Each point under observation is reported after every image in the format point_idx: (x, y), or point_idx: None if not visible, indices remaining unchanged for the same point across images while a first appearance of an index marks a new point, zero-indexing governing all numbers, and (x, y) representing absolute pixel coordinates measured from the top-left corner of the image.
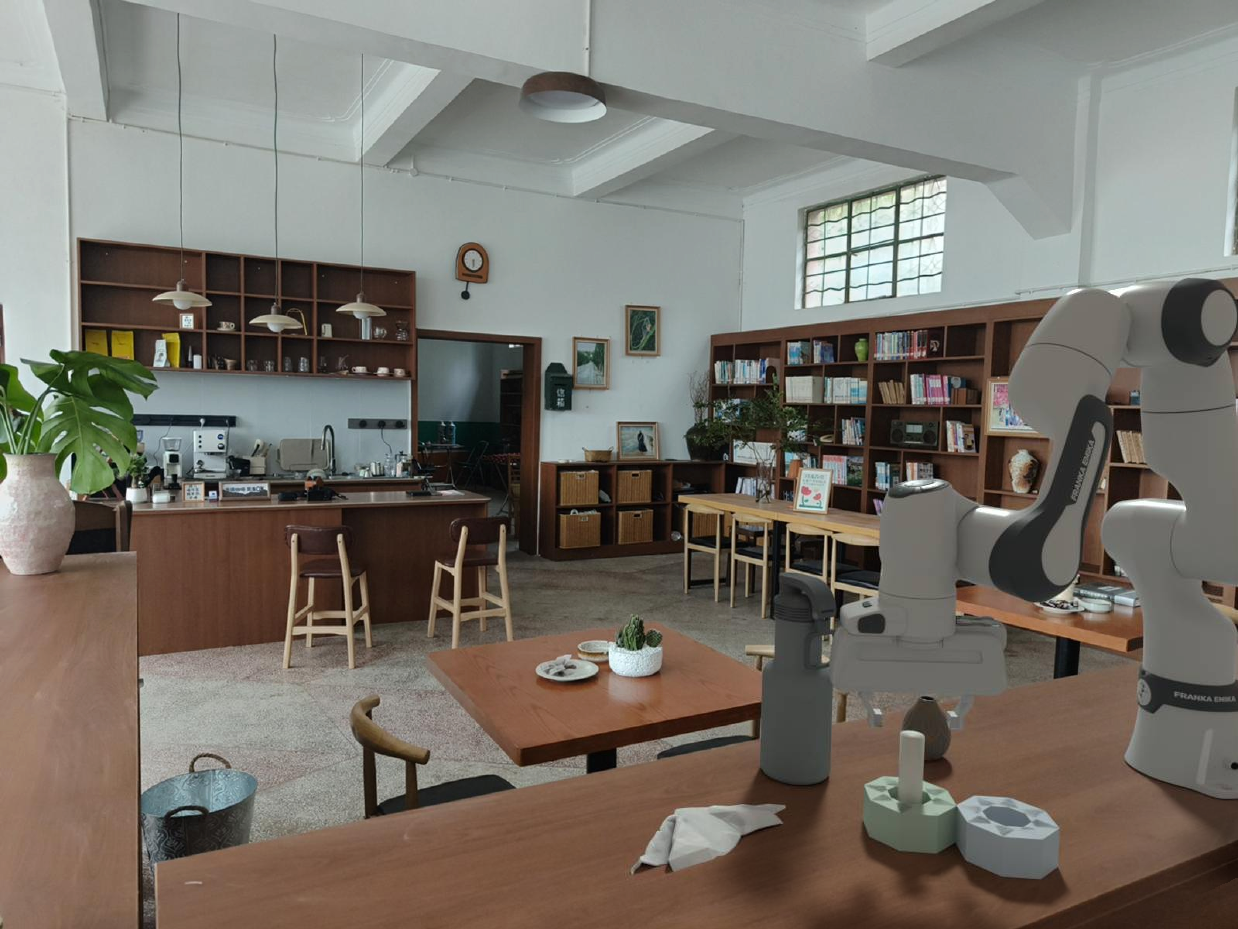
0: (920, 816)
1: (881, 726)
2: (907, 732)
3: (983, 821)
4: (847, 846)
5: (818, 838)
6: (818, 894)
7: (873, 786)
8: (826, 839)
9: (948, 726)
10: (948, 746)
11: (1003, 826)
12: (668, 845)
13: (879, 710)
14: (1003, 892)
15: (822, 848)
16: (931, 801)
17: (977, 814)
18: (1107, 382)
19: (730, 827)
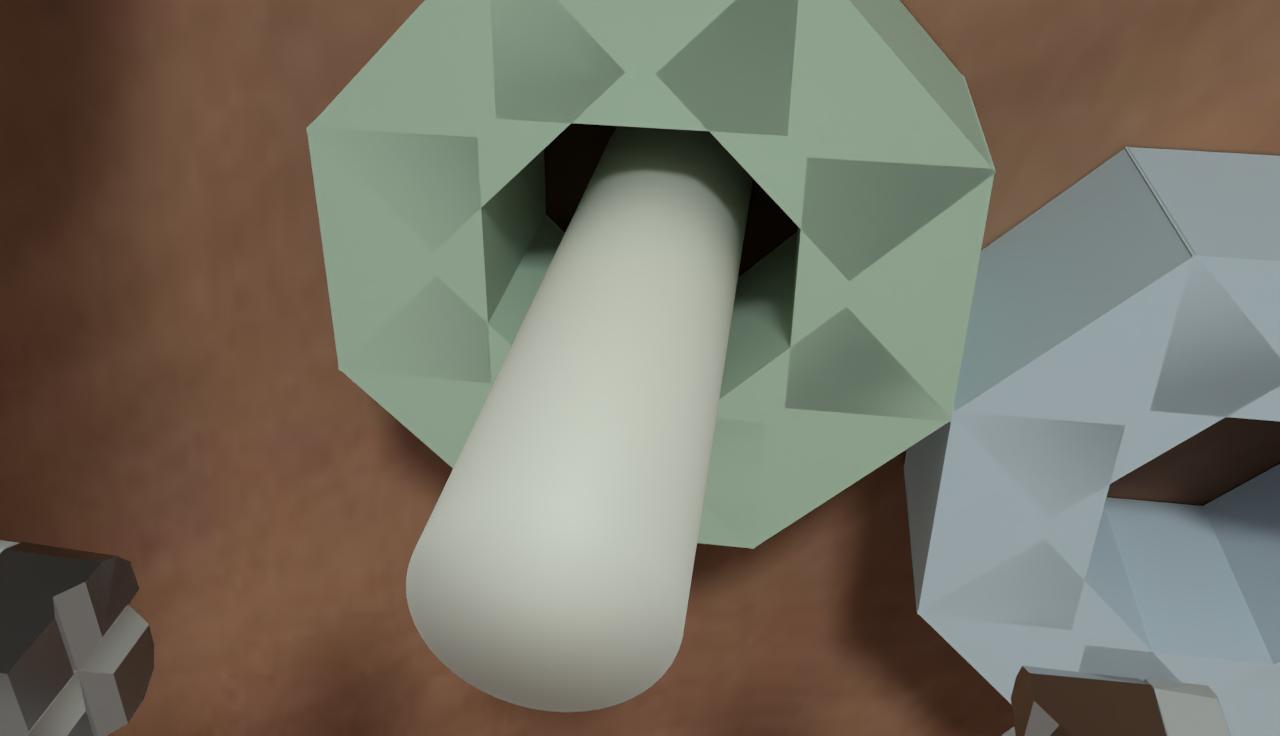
0: None
1: (141, 682)
2: (498, 551)
3: (1034, 609)
4: (296, 356)
5: (142, 285)
6: (179, 688)
7: (379, 153)
8: (185, 293)
9: (1014, 708)
10: None
11: (1136, 660)
12: None
13: (11, 712)
14: (965, 686)
15: (171, 379)
16: (780, 368)
17: (1044, 529)
18: None
19: None
